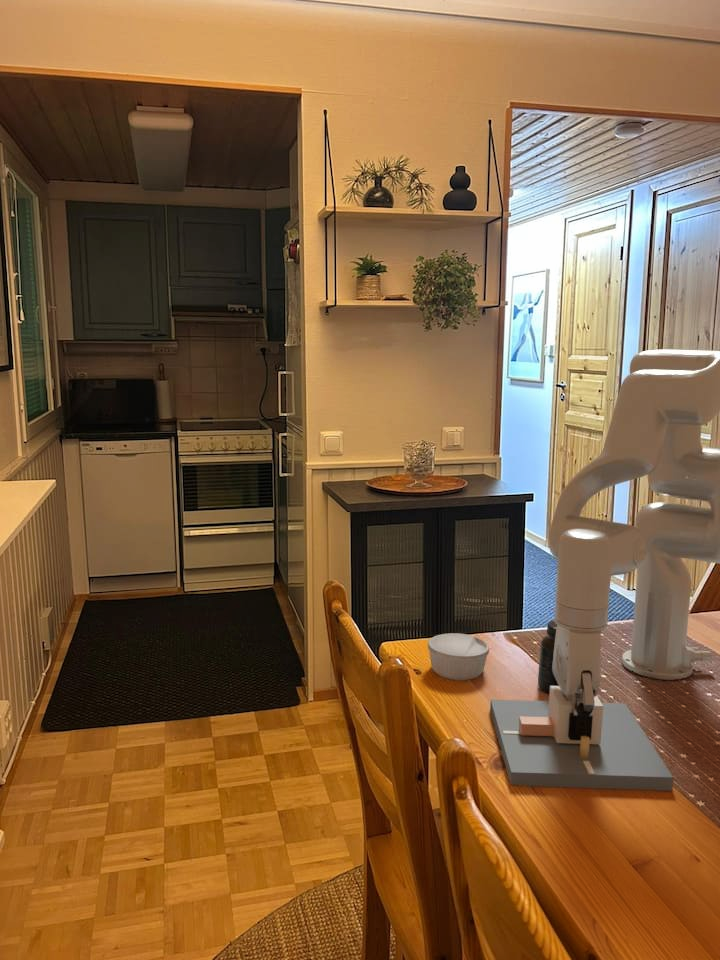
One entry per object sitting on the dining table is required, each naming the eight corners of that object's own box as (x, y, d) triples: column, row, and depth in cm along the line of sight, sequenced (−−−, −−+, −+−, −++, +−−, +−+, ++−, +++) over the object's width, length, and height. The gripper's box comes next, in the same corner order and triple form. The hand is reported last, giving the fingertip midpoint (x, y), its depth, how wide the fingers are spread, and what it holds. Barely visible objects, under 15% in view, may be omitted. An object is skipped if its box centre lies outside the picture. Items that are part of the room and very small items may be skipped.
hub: (589, 723, 119) (592, 686, 118) (600, 744, 113) (603, 706, 112) (516, 721, 120) (518, 684, 119) (523, 741, 114) (525, 703, 112)
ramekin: (497, 680, 140) (498, 653, 139) (439, 686, 137) (440, 658, 136) (473, 656, 151) (474, 630, 150) (419, 661, 148) (420, 635, 147)
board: (624, 714, 127) (628, 665, 126) (672, 790, 106) (677, 732, 104) (490, 710, 128) (492, 661, 127) (510, 785, 106) (513, 727, 105)
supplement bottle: (578, 699, 132) (583, 633, 130) (538, 695, 134) (541, 630, 132) (576, 683, 139) (580, 619, 137) (537, 679, 140) (540, 616, 138)
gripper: (543, 594, 122) (537, 700, 125) (568, 635, 105) (561, 756, 108) (591, 595, 122) (584, 701, 125) (624, 636, 104) (615, 758, 108)
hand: (573, 726), depth 116 cm, fingers closed on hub, 6 cm apart
